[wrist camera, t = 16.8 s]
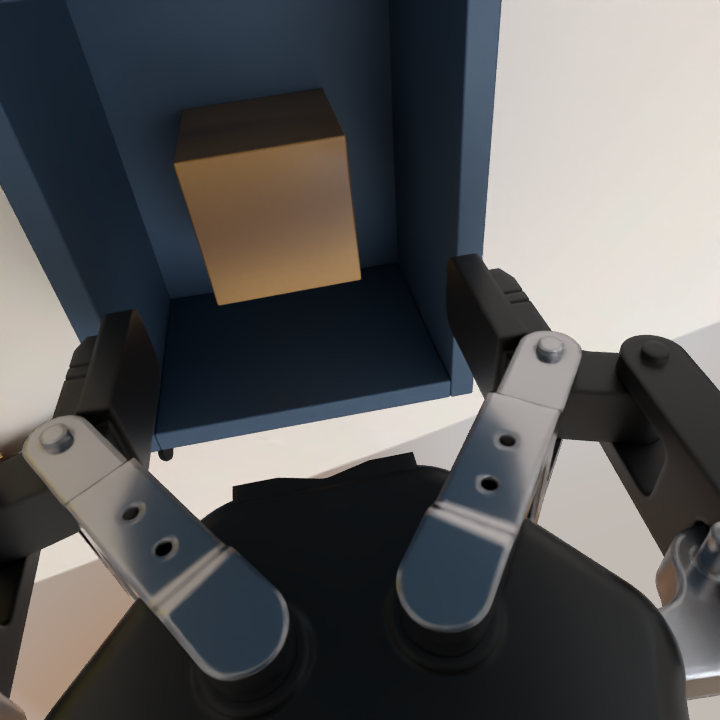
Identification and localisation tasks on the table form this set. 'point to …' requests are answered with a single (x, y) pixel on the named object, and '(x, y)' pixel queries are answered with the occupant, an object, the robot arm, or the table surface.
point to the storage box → (169, 211)
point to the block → (269, 194)
